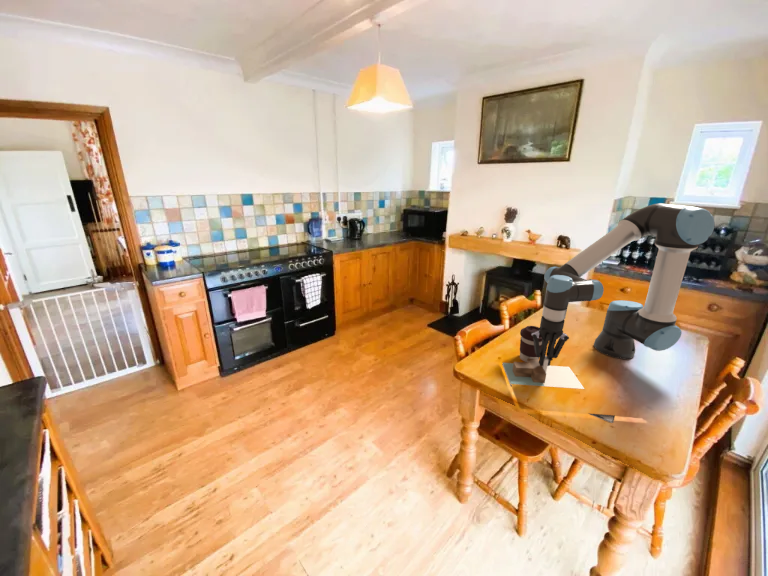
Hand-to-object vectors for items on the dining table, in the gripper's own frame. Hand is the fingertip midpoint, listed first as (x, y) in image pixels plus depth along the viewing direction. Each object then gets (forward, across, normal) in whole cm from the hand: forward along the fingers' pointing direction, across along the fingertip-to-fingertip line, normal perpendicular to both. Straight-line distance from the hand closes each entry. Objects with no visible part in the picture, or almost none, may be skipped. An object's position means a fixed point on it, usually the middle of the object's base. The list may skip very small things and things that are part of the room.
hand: (542, 372), depth 125 cm
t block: (+1, +6, 0) cm, 6 cm away
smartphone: (+3, -16, +14) cm, 21 cm away
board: (+3, 0, 0) cm, 3 cm away
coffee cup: (+3, +2, -12) cm, 12 cm away
